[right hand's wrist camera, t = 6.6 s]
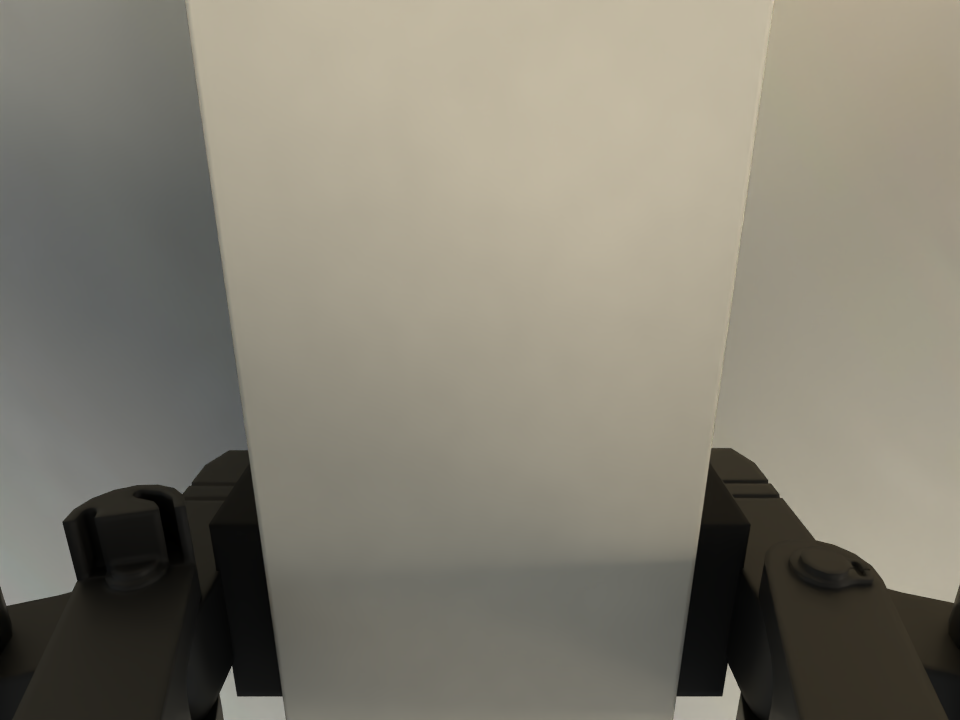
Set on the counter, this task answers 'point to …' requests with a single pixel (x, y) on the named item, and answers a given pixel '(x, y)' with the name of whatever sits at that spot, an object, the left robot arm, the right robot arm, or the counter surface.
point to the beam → (479, 335)
